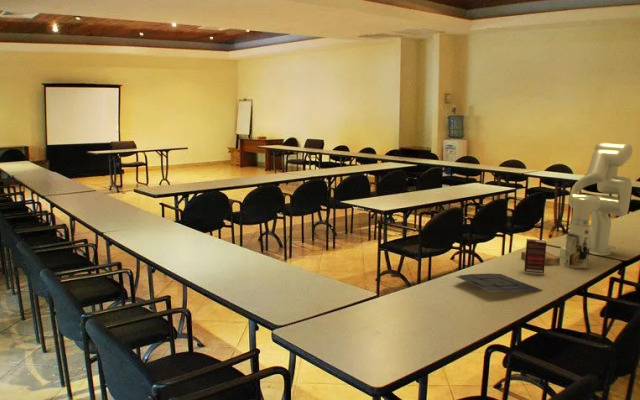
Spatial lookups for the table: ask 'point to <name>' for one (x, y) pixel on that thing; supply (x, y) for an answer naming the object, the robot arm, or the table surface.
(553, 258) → the walnut block
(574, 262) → the coffee box
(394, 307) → the table surface
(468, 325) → the table surface
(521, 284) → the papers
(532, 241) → the supplement box
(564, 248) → the sage cube
